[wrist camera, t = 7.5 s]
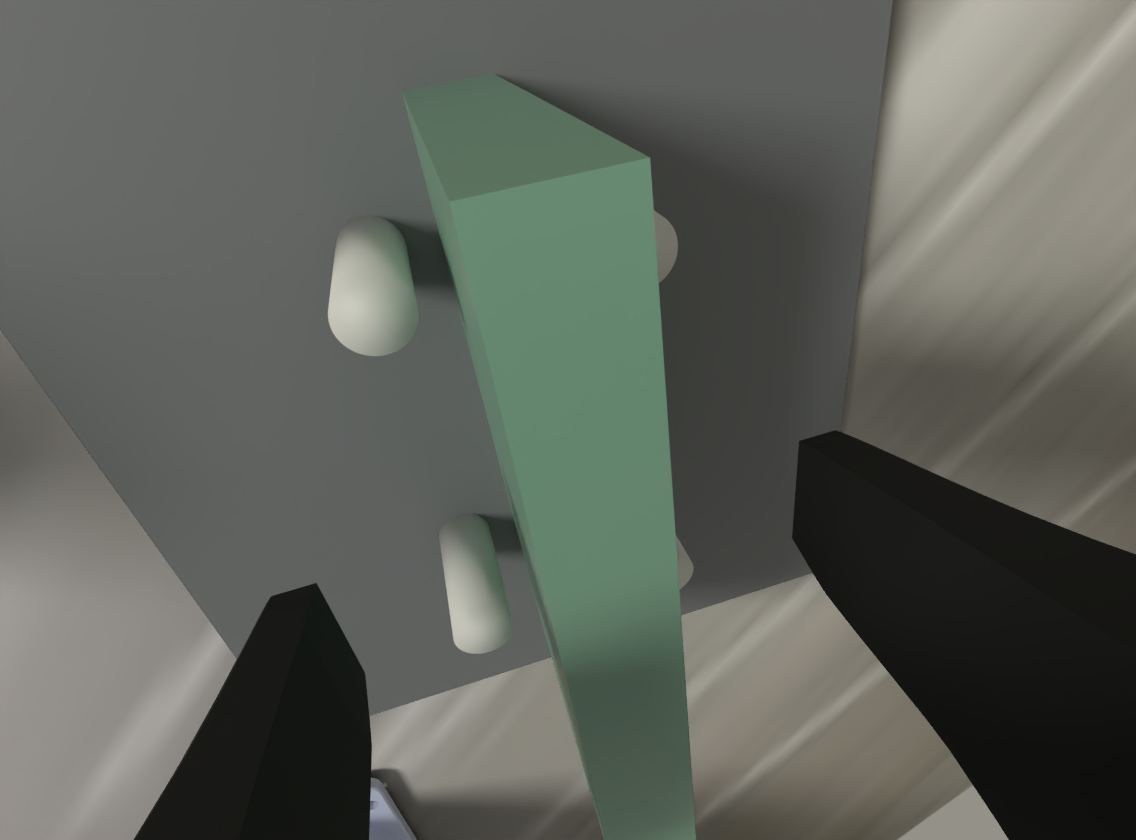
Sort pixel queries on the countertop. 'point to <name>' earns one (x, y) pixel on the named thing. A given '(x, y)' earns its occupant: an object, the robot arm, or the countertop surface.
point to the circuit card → (574, 417)
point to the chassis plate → (415, 286)
